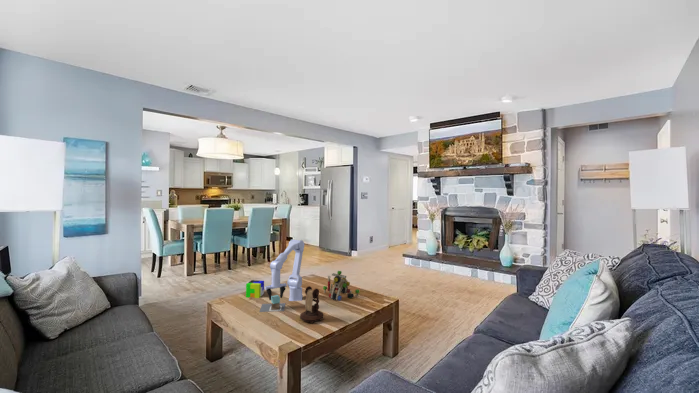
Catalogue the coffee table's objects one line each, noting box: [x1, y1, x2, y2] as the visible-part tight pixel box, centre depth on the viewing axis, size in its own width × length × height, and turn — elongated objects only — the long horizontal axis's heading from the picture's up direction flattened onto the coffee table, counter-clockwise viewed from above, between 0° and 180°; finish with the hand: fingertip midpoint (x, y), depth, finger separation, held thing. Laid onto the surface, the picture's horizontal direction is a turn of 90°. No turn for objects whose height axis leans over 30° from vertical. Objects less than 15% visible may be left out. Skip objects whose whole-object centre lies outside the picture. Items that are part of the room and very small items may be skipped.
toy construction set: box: [322, 270, 360, 301], centre depth 235 cm, size 27×22×21 cm
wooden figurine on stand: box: [299, 285, 324, 325], centre depth 191 cm, size 15×15×20 cm
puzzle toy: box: [245, 279, 265, 299], centre depth 232 cm, size 10×10×10 cm
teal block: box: [270, 294, 281, 304], centre depth 206 cm, size 4×4×4 cm
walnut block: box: [271, 302, 281, 310], centre depth 206 cm, size 5×5×4 cm
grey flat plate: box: [259, 302, 286, 313], centre depth 207 cm, size 16×14×1 cm
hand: (275, 298), depth 206 cm, fingers open, 7 cm apart
